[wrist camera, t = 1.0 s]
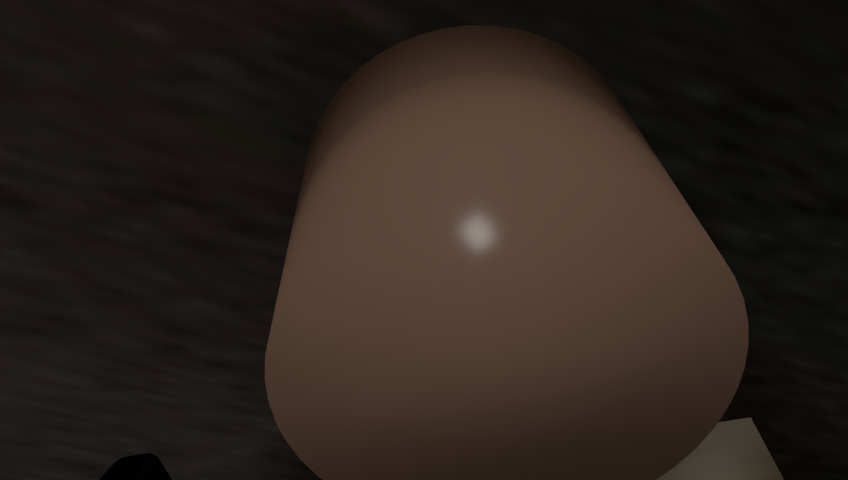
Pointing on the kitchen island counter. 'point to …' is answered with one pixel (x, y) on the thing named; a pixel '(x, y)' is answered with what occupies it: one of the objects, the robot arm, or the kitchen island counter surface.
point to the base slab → (728, 456)
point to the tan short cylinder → (495, 278)
